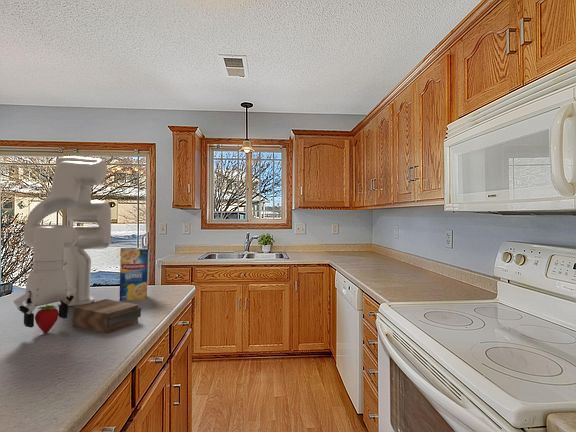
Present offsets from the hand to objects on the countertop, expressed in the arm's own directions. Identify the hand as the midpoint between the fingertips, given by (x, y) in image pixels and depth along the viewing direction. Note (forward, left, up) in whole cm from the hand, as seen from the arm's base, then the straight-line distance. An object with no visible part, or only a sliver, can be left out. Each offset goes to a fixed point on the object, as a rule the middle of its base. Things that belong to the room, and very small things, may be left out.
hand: (46, 321), depth 100 cm
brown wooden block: (+8, +14, -4) cm, 17 cm away
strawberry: (0, 0, -4) cm, 4 cm away
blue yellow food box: (-12, +43, -4) cm, 45 cm away
